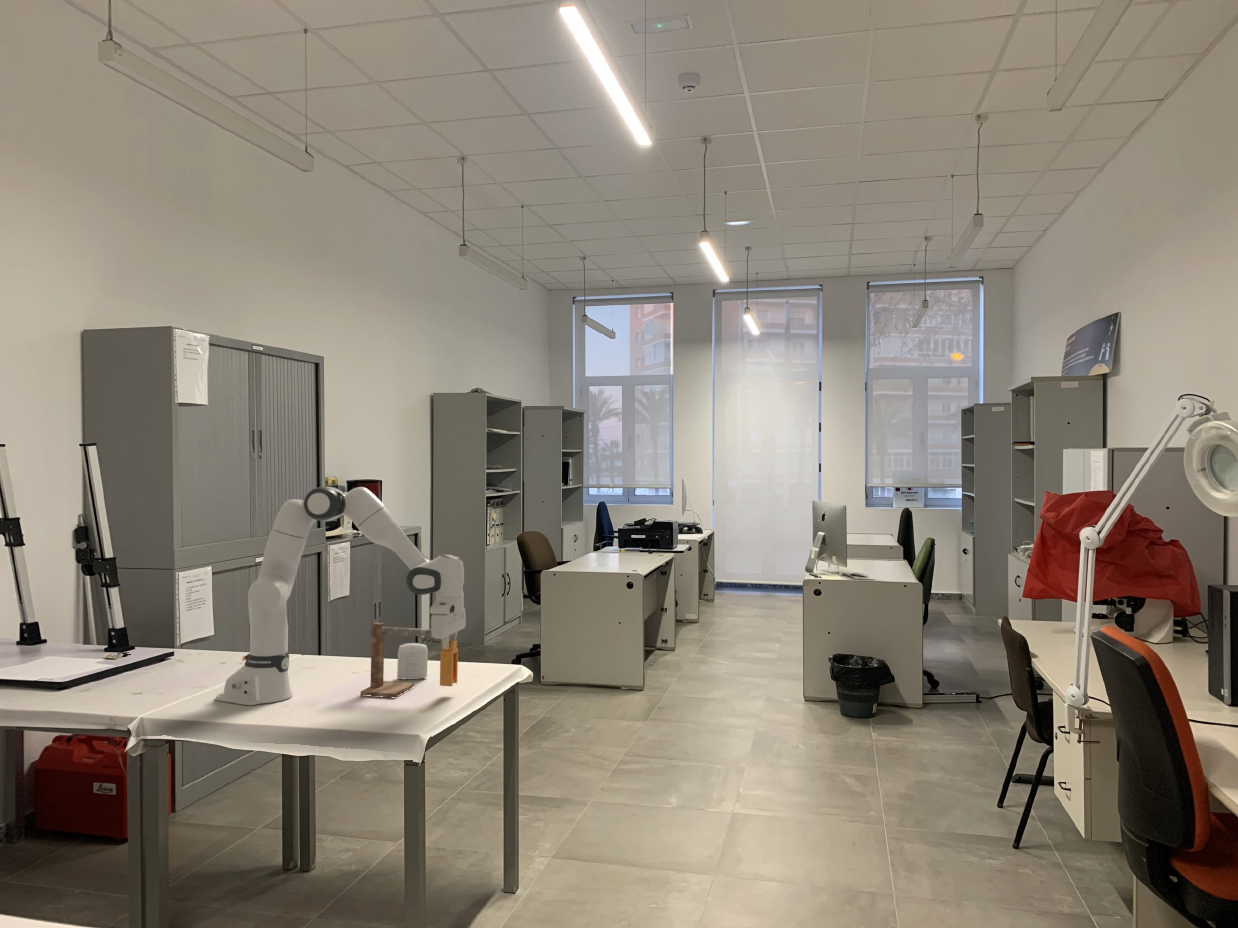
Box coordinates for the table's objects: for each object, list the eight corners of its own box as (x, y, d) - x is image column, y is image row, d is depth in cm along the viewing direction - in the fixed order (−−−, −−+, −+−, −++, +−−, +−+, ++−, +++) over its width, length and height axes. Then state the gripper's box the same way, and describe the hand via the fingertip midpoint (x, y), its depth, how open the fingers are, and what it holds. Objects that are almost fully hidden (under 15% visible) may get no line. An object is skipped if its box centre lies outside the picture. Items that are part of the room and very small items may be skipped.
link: (439, 685, 257) (440, 641, 257) (445, 681, 262) (446, 638, 262) (451, 686, 256) (452, 641, 256) (457, 682, 261) (458, 638, 261)
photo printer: (427, 676, 283) (428, 641, 284) (426, 679, 279) (427, 644, 279) (398, 677, 282) (398, 642, 282) (396, 680, 278) (397, 644, 278)
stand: (360, 695, 257) (361, 626, 257) (381, 685, 271) (382, 619, 271) (425, 700, 253) (427, 630, 253) (443, 689, 266) (445, 622, 267)
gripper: (453, 599, 270) (452, 640, 270) (427, 609, 250) (426, 653, 250) (470, 600, 269) (470, 641, 269) (446, 609, 249) (445, 654, 249)
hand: (449, 647), depth 259 cm, fingers closed on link, 3 cm apart
